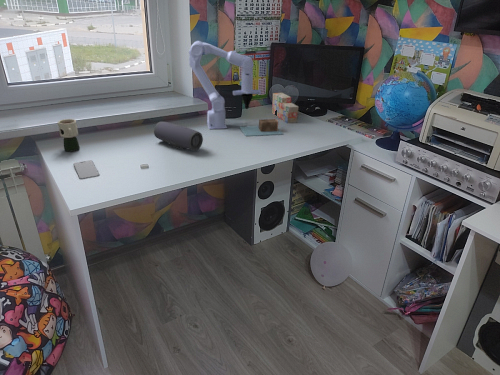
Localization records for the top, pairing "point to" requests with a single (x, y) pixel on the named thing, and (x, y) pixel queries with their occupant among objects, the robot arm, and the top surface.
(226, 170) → the top surface
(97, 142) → the top surface
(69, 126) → the character mug
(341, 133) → the top surface
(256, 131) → the teal-grey mat
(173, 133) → the bluetooth speaker
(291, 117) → the stack of blocks
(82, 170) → the smartphone
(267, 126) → the walnut block
